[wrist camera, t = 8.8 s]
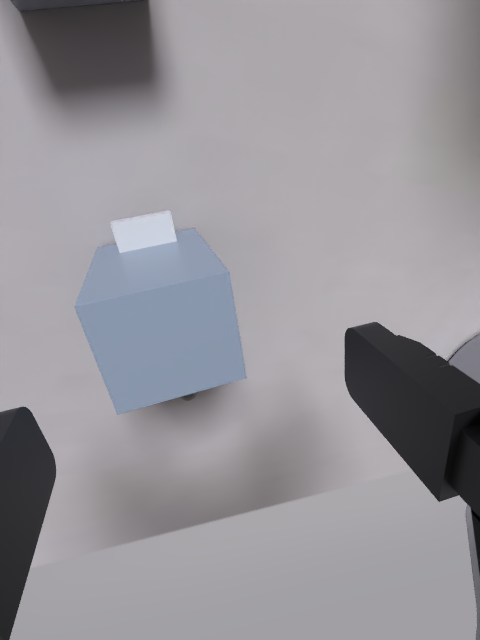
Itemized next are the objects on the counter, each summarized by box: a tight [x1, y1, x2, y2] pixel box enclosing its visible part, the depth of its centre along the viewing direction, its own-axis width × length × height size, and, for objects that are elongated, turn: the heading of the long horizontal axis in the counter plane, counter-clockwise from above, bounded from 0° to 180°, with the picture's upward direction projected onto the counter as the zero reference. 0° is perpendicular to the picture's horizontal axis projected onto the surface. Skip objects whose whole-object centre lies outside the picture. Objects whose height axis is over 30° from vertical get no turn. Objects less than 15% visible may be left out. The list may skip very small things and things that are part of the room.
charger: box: [75, 210, 247, 415], centre depth 15 cm, size 4×10×7 cm, turn 8°
